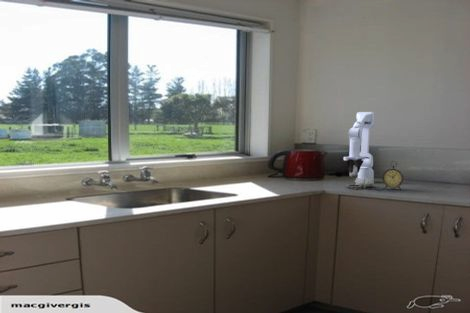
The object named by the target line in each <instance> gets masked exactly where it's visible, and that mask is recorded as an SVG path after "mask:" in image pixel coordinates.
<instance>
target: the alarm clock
mask: <svg viewBox="0 0 470 313" xmlns="http://www.w3.org/2000/svg"><path fill="white" fill-rule="evenodd" d="M393 162H395V165H392V163H393ZM397 164H398V163H397V161H396V160H391V162H390V166H391V168H388V169H386V170H385V171H384V172H383V174H382V182H383V184H384V185H385V187H384V190H385V189H386V188H391V189H395V188H396V189H397V188H398V189H399V190H400V191H402V188H401V185H402V184H403V182H404V173H403V172H402V171H401V170H400V169H398V168H396V166H397Z"/></svg>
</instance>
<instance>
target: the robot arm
mask: <svg viewBox="0 0 470 313" xmlns="http://www.w3.org/2000/svg"><path fill="white" fill-rule="evenodd" d="M374 124H375V113H374V111H358V112H357V113H356V121H355V122H354V124H353V126H352V127H351V128H349V130H348V141H349V153H348V154H349V155H348V156H343V161H344V162H345V164H346V166H347V169H348V173H349V174H350V173H352V172H353V166H358V172H357V178H361V179H365V178H372V179H373V181H375V180H374V176H375V173H374V172H375V171H374V170H373V168H372V167H373V166H374V157H373V154H371V153H370V152H369V151H370V150H369V149H370V137H371V128H372V127H373V126H374ZM354 182H355V183H356V180H354Z"/></svg>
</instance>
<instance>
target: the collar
mask: <svg viewBox="0 0 470 313" xmlns="http://www.w3.org/2000/svg"><path fill="white" fill-rule="evenodd" d="M349 177H350V178H351V177H353V178H354V177H355V178H358V166H355V165H353V172H352V173H349Z"/></svg>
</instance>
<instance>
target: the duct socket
mask: <svg viewBox="0 0 470 313" xmlns="http://www.w3.org/2000/svg"><path fill="white" fill-rule="evenodd" d="M355 181H356V182H355V184H354V183H351V184H350V183H349V184H345V189H348V190H362V189H365V188H370V187H371V188H372V187H374V184H375V180H373V179H372V178H365V179H361V178H358V177H355Z"/></svg>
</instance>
